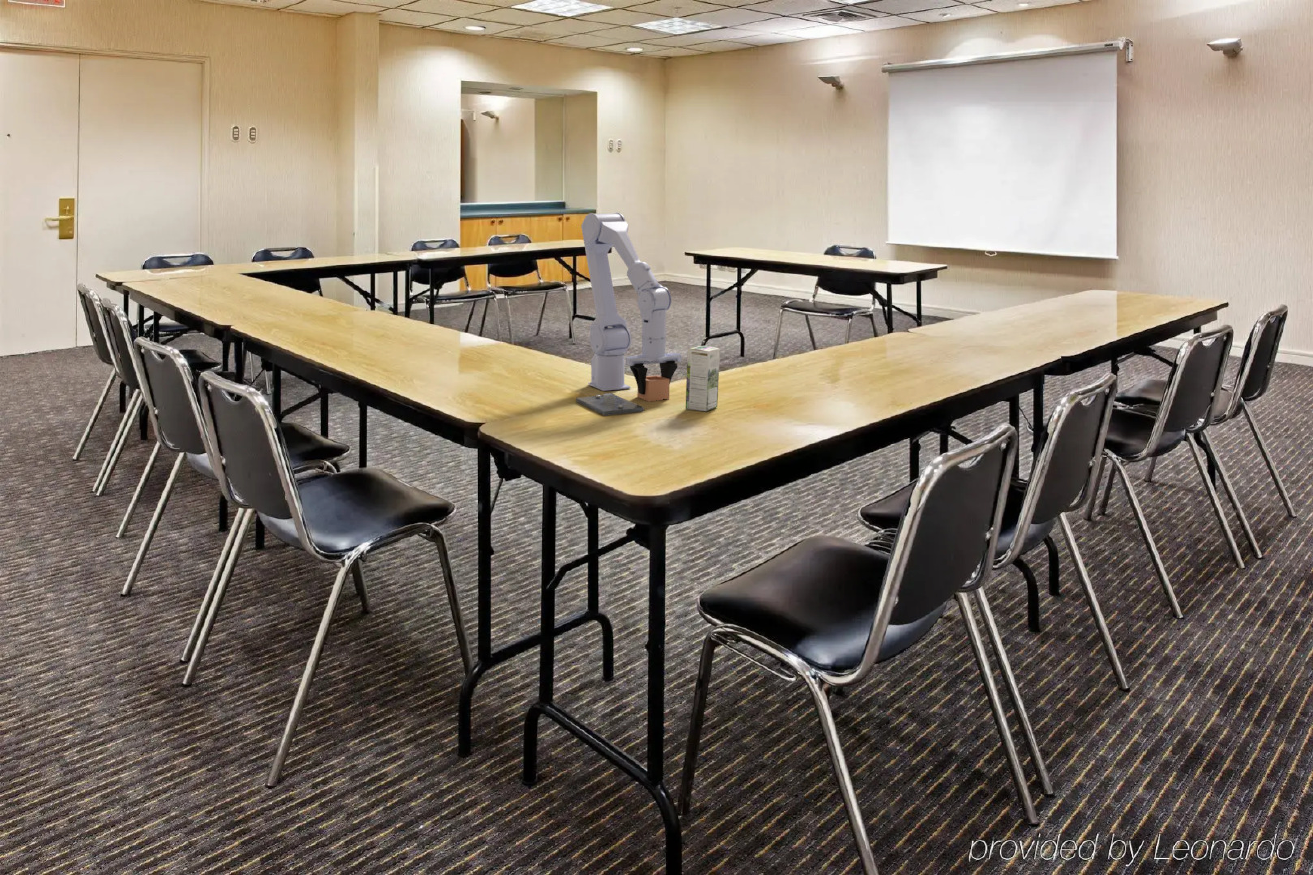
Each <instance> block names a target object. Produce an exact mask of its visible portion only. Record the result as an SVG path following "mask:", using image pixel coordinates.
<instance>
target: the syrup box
mask: <svg viewBox="0 0 1313 875" xmlns="http://www.w3.org/2000/svg"><path fill="white" fill-rule="evenodd" d="M720 351H721V348H719V347H714V346H710V345H698V346H695V347H691V348H688V349H687V358H686V359H687V360H686V361H687V362H686V383H685V384H686V385H685V386H686V387H685V388H686V389H685V409H686V410H692V411H699V412H709V411H711V410H713V409H716V408H718V399H719V381H720V378H719V376H720V375H719V374H720V353H721V352H720Z"/></svg>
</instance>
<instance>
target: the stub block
mask: <svg viewBox="0 0 1313 875" xmlns="http://www.w3.org/2000/svg"><path fill="white" fill-rule="evenodd" d="M575 402H576V403H578V404H580V405H582V406H584V407H586V408H588V409H589V410H592V411H594V412H596V413H598V414H600V415H602V416H604V417H608V416H614V415H615V414H617V415H625V414H632V413H634V414H635V413H642V412H643V411H644V410H645V409H644V407H643V406H642V405H639V404H637V403H635V402H632V401H630V400H628V399H625V398H623V397H621V396H619V395H616V394H614V393H611V392H609V393H603V395H601V394H595V395H593V396H592V395H591V396H584V397H583V396H582V397H576V398H575ZM615 416H616V415H615Z"/></svg>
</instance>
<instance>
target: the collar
mask: <svg viewBox="0 0 1313 875" xmlns="http://www.w3.org/2000/svg"><path fill="white" fill-rule="evenodd" d="M669 384H670V385H671V381H670V379H667V378H665V377H662V376H661V375H659V374H658V375H655V374H654V375H646V390H645V394H640V393H639V391H638V390H637V398H639V399H642V400H644V401H646V402H655V401H656V400H657V401H664V400H663V399H667V400H670V385H669Z"/></svg>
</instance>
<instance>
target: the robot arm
mask: <svg viewBox="0 0 1313 875" xmlns="http://www.w3.org/2000/svg"><path fill="white" fill-rule="evenodd" d="M628 231H629V224H628V222H627V221H626V219H625V217H624V215H623V214H622V213H620V212H614V213H613V212H612V213H611V212H610V213H593V212H590V213H588V214H587V215H585V216H584V219H583V221H582V223H581V233H582V238H583V244H584V248H585V249H584V250H585V255H586V261H587V268H588V273H589V280H590V285H591V291H592V297H593V302H594V309H595V314H596V318H595V319H594V320H593V321H592V322H591V323H590V325H589V339H588V340H589V346H590V348H591V350H592V351H593V356H592V358H591V361H590V366H591V367H590V369H591V370H590V372H591V373H590V375H591V378H590V379H591V380H590V382H588V383H587V385H588V386H591V387H593V388H595V389H598V390H599V391H602V392H605V391H606V392H607V391H617V390H626V389H631V385H627V384H625V366H627V367H630V370H631V372H632V374H633V376H634V379H635V381H636V385H637V392H638V391H639V393H640V394H645V390H646V376H648V375H647V374H648V369H649V368H648V367H645V365H648V364H649V365H652V364H659V368H660V376H662V377H665V378H667V379H670V382H672V378H673V376H674V374H675V372H676V370H677V369H678V363H681V362H682V354H681V353H679V352H671V353H670V352H669V353H668V352H667V353H666V346H667V345H666V337H667V336H666V335H667V334H666V333H667V311H668V310H669V309H670V307H671V305H672V295H671V292H670V290H669V289H668V288H667V287H666V286H663V285H662V284H661V283H659V282H658V280H657V278H656V277H655V275H654V273H653V271H652V269H651V267H650V264H648V263H647V262H645V261H641V260H640V258H639V255H638V254H637V251H636V249H635V247H634V245H633V243H632V240H631V238H630V237H629V234H628ZM612 248H614V250H615V251H616V252H617V254H618V255H619V257H620V258H621V259H622V261H623V263H624V264H625V265H626V267H627V270H626V276H627V278H628V280H629V282H630V284H631V285H632V287H633V289H634V290H635V292H636V294H637V296H638V297H637V300H636V303H637V307H638V309H639V312H640V319H641V320H642V321H641V323H642V325H641V326H642V328H641V329H642V333H641V336H642V338H641V344H642V346H641V348H642V349H641V354H638V355H632V356H626V357H625V354H627V352H628V351H627V350H628V349H629V348H630V347H631V344H632V335H631V331H630V329H629V327H628V325H627V320H626V319H624V317H622V316H621V315H620V314H619V313H618V308H617V302H616V298H615V296H616V295H615V292H614V291H615V290H614V285H613V278H612V273H611V268H610V261H609V256H608V253H609V251H610V250H611V249H612ZM670 385H671V383H670V384H669V386H670Z"/></svg>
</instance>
